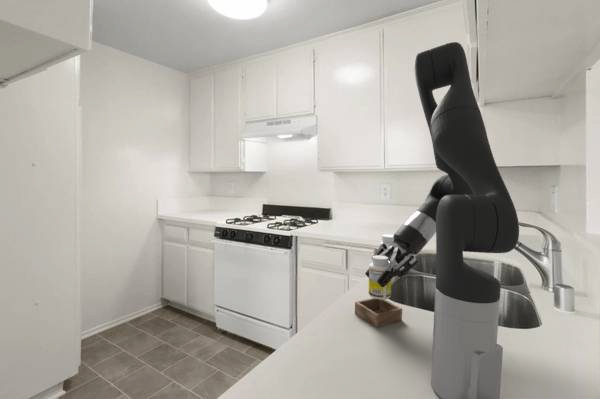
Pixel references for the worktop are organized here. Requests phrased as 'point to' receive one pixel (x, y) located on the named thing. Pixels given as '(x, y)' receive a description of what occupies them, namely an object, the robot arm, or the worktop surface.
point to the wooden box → (378, 319)
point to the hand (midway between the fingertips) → (373, 280)
